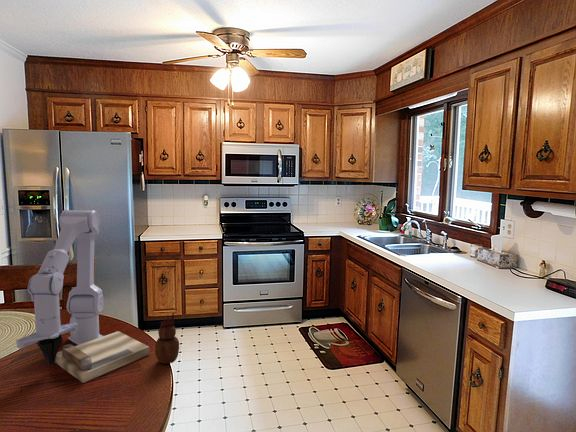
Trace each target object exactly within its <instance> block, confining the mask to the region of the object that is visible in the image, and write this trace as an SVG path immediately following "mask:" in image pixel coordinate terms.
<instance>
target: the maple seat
mask: <svg viewBox="0 0 576 432" xmlns="http://www.w3.org/2000/svg"><path fill="white" fill-rule="evenodd" d="M102 336H103V337H100V338H97V339H94V340H91V341H89V342H86V343H83V344H80V345H77V344H76V345H73V346H74V347H76V348H77V349H79V350H81V351H82V352H84V353H85V354H87V355H88V356H90V357H91V359H92V367H91V368H90V369H87V370H82V369H81V368H79V367H78V366H76V365H75V364H74V363H72V362H71V361H69V360H68V359H66V358H65V357H63V356H62V350H60V351H58V352H57V355H56V359H55V363H54V364H56V365H58V366H59V367H61V369H63V370H65V371H66V372H67V373H69V374H70V375H71V376H73V377H74V378H76V379H77V380H78V381H79V382H81V383H82V384H83V383H86V382H89V381H91V380H93V379H96V378H98V377H100V376H102V375H105V374H107V373H109V372H111V371H114V370H116V369H118V368H121V367H124V366H126V365H128V364H130V363H133V362H135V361H137V360H140V359H142V358H145V357H146V356H149V355H150V346H149V345H147V344H145V343H144V342H143V343H142V342H140V341H138V340H137V339H134V338H133V337H131V336H129V335H127V334H125V333H123V332H121V331H119V330H118V331H115V332H112V333H109V334H106V335H102Z"/></svg>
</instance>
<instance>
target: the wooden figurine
mask: <svg viewBox="0 0 576 432" xmlns="http://www.w3.org/2000/svg"><path fill="white" fill-rule="evenodd" d="M174 315H175V313H174V312H172V314H171V318H170V316H169V314H167V317H166V318H163V321H160V327H159V328H158V337H157V338H158V339H157V340H156V341H155V345H154V346H155V348H154V349H155V351H154V354H155V357H156V359H157V361H158V362H159V363H160V364H164V365H167V364H168V365H169V364H173V363H174V362H175V361H176V360H178V359H177V358H178V356H179V351H180V341H179V338H178V337H177V336H176V331H177V330H176V327H175V325H174V324H175V318H174V317H175V316H174Z"/></svg>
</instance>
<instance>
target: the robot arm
mask: <svg viewBox="0 0 576 432" xmlns="http://www.w3.org/2000/svg"><path fill="white" fill-rule="evenodd" d="M59 227H60V231H59V234H58V237H57V239H56V243H55V245H54V247H53V249H51V250H49V251H47V254H46V255H45V257H44V260H43V262H42V263H41V266H40V268H39V270H38V271H37V273H36V274H34V275H32V276H31V277H30V278H29V280H28V285H27V292H28V293H29V295H30V298H31V302H33V303H34V304H33V305H34V308H33V309H34V321H35V332H32V333H31V334H28V335H26V336H23V337H21V338H18V339H16V340H15V341H16V347H17V348H18V349H19V350H21V349H24V348H25V347H27V346H29V345H33V344H37V346H38V347H39V349H40V350H41V352H42V355H43V356H44V359H45V362H46V364H47V365H48V366H51V365H54V364H56V363H55V359H56V355H57V352H59V349H60V346H62V343H63V341H64V337H63V336H62V335H64V334H69V333H70V336H68V337H67V339H68V340H70V341H71V342H72V343H74V344H76V346H77V345H80V344H83V343H86V342H89V341H91V340H94V339H97V338H100V337H103V336H104V335H102V334H100V324H99V323H100V322H99V321H100V320H99V318H100V317H99V314H100V313H101V312H102V311H103V309H104V306H105V298H104V294H103V289H101V288H100V287H99V286H97V285H95V284H94V283H95V281H94V280H95V242H96V241H95V239H96V237H95V236H98V235H99V234H100V216H99V214H98V212H97V211H96V210H95V209H92V210H91V209H90V210H75V209H73V210H71V209H70V210H69V209H65V210H63V211H62V212H61V213H60V216H59ZM76 239H77V251H76V252H77V258H76V259H77V260H76V261H77V262H76V263H77V264H76V265H77V266H76V286H75V287H74V288H72V289H71V290H70V291H69V292H68V297H67V301H66V310H67V312H68V314H71V317H70V320H69V323H67V324H61V308H60V294H59V293H61V291H62V289H63V286H64V278H65V276H64V272H65V270H66V268H67V266H68V263H69V261H70V256H69V254H68V253H69V250H70V249H71V247H72V246H73V244H74V242H75V240H76Z"/></svg>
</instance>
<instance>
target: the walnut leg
mask: <svg viewBox="0 0 576 432" xmlns="http://www.w3.org/2000/svg"><path fill="white" fill-rule="evenodd" d="M74 346H75V345H73V344H71V343H70V344H65V345H63V346H62V347H61V351H62V356H63V357H65V358H66V359H68V360H69V361H71V362H72V363H74V364H75V365H76V366H78V367H79V368H81V369H82V370H87V369H90V368H91V367H92V359H91V357H90V356H88V355H87V354H85V353H84V352H82V351H81V350H79V349H77V348H76V347H74Z"/></svg>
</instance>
